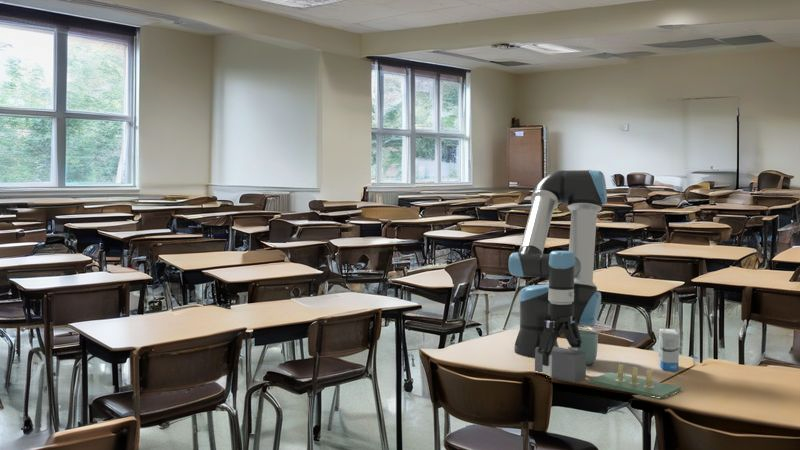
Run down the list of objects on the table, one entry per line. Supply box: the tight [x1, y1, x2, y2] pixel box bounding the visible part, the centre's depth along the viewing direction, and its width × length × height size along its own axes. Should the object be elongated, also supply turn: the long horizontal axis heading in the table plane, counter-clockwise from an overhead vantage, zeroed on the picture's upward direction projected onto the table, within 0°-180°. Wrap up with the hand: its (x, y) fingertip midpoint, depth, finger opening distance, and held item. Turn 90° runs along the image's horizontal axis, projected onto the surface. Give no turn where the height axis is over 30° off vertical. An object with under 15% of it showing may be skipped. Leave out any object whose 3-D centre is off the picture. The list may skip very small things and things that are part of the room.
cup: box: [576, 330, 599, 366], centre depth 230 cm, size 8×8×10 cm
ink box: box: [657, 328, 680, 372], centre depth 225 cm, size 8×5×12 cm, turn 168°
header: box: [588, 363, 682, 398], centre depth 204 cm, size 22×12×6 cm, turn 44°
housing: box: [534, 346, 587, 384], centre depth 214 cm, size 14×6×8 cm, turn 44°
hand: (559, 372), depth 215 cm, fingers open, 13 cm apart
